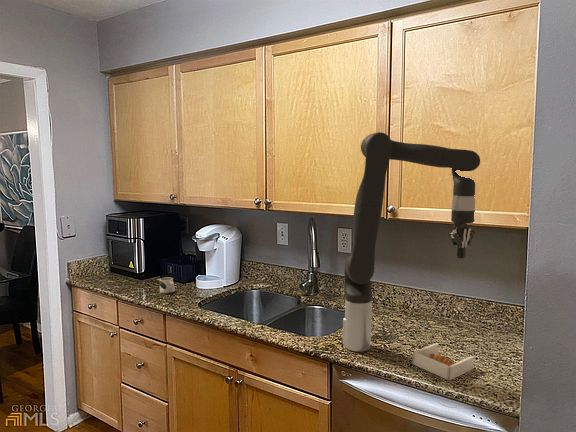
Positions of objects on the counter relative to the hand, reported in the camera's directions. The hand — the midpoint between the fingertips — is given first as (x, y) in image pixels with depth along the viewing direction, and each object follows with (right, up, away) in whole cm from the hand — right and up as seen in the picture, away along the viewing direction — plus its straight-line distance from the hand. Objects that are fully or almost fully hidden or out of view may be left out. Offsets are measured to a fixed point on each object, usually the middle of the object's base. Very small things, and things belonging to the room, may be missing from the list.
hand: (460, 257), depth 152 cm
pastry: (-12, -34, -13) cm, 39 cm away
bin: (-11, -34, -13) cm, 38 cm away
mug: (-122, -25, +69) cm, 142 cm away
